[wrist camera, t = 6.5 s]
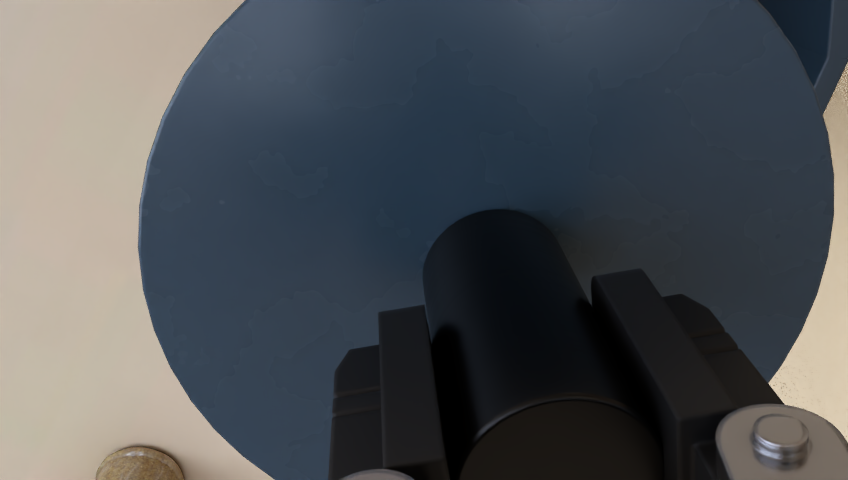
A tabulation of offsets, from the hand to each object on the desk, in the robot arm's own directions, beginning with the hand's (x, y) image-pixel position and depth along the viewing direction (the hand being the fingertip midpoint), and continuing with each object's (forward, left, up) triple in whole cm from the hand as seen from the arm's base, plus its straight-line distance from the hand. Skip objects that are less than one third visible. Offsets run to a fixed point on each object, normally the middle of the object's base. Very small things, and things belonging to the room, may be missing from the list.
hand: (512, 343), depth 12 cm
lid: (0, 0, -3) cm, 3 cm away
